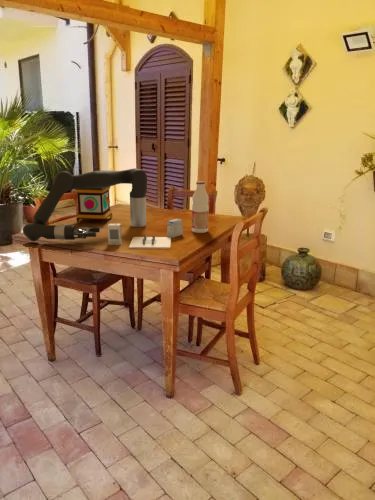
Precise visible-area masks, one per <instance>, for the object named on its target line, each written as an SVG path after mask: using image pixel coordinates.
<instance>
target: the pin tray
mask: <svg viewBox="0 0 375 500" xmlns="http://www.w3.org/2000/svg"><path fill="white" fill-rule="evenodd" d="M171 242H172V237H168V236H165V237H164V236H156V234H152V236H147V234H143V236H132V240H131V242H130V244H129V246H128V249H143V250H145V249H152V250H153V249H157V250H158V249H159V250H160V249H163V250H164V249H167V250H169V249H171V245H172V243H171Z"/></svg>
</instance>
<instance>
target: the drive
mask: <svg viewBox="0 0 375 500" xmlns="http://www.w3.org/2000/svg"><path fill="white" fill-rule="evenodd" d="M107 239H108V246H121V245H122V241H123V240H122V224H121V223H108V225H107Z"/></svg>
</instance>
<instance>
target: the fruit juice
mask: <svg viewBox="0 0 375 500" xmlns="http://www.w3.org/2000/svg"><path fill="white" fill-rule="evenodd" d="M195 185H196V188H195V191H194V192H193V195H192V198H191V199H192V205H191V231H192V233H196V234H204V233H207V232H208V231H209V210H210V209H209V206H210V205H209V199H210V196H209V195H208V193H207V190H206V181H201V180H199V181H196V183H195Z"/></svg>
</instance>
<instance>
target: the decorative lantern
mask: <svg viewBox="0 0 375 500" xmlns="http://www.w3.org/2000/svg"><path fill="white" fill-rule="evenodd" d="M110 188H111V186H110V187H103V188H78V189H74V190H75V192H76V196H77V207H78V209H77V210H78V213H77V216H76V222H77V224H80V222H81V220H99V221H100V220H101V221H102V224H103V225H105V224H106V219H108V217H109V218H110V219H112V218H113V212H112V210H111V207H110V205H111V200H110Z"/></svg>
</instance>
